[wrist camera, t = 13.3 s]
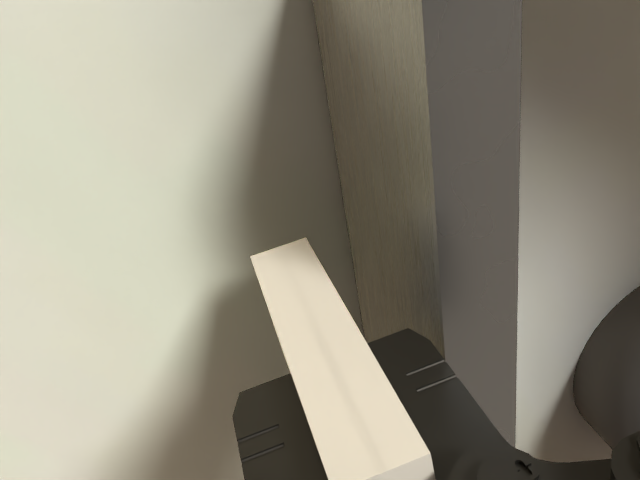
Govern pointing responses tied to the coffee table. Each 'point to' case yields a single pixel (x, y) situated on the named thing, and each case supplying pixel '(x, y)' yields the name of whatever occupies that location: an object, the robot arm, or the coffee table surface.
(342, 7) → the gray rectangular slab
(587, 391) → the coil
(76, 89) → the coffee table surface
